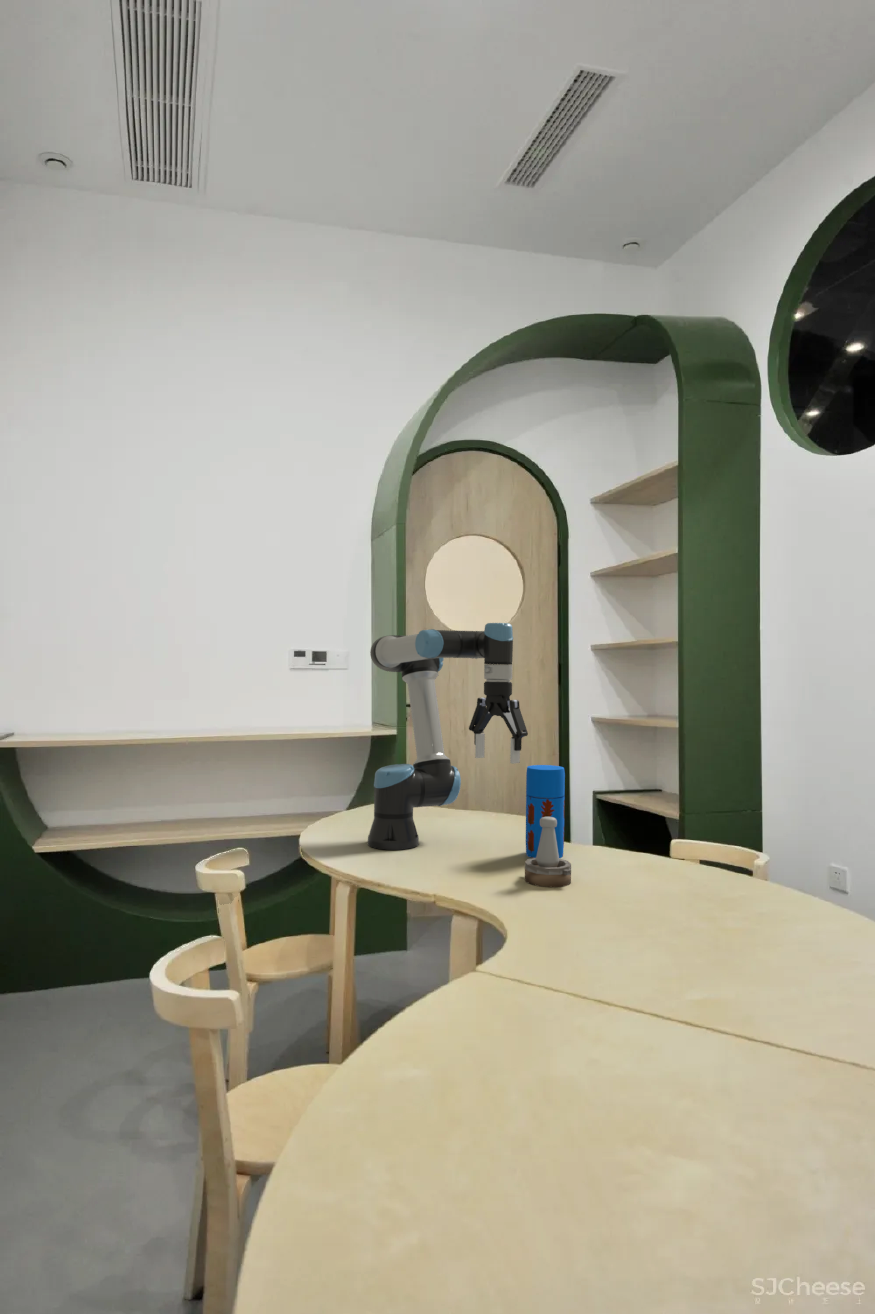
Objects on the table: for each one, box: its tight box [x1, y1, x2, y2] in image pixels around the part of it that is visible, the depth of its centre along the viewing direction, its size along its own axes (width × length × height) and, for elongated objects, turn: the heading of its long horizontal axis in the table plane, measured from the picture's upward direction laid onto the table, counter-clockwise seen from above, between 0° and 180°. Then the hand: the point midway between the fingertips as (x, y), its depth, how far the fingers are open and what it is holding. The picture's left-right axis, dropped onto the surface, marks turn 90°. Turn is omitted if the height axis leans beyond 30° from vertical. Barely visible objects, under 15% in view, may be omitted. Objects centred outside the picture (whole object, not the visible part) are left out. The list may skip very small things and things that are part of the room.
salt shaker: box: [536, 817, 560, 868], centre depth 208 cm, size 6×6×13 cm
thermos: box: [525, 764, 566, 859], centre depth 234 cm, size 11×11×25 cm
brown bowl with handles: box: [524, 858, 572, 888], centre depth 208 cm, size 14×12×4 cm
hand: (497, 760), depth 219 cm, fingers open, 13 cm apart
